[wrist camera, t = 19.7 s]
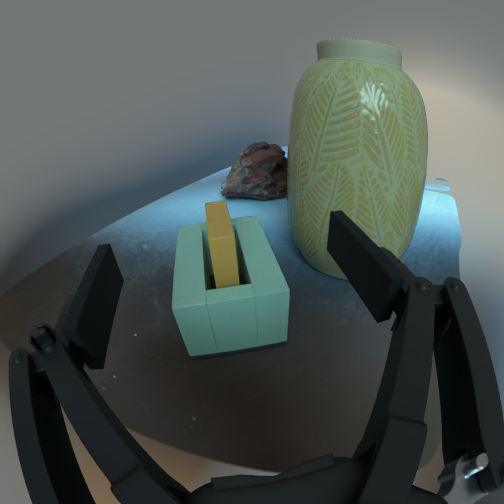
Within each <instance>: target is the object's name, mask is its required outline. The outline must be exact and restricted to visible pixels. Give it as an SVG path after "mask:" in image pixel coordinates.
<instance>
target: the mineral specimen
mask: <svg viewBox="0 0 504 504" xmlns="http://www.w3.org/2000/svg"><path fill="white" fill-rule="evenodd" d="M284 155H285V151H283V150H282V149H281V147H279V146H278V145H276V144H270V145H268V143H267V142H260V143H253V144H251V145H249V146H248V148H247V149H245V150H244V151H242V152H241V153H240V154H239V155H238V156H237V158H236V159H235V160H234V162H233V164H232V168H231V171H230V172H229V175H228V176H227V181H225V182H224V183H223V184H222V188H221V189H222V191H221V194H222V196H225V197H226V198H228V197H235V198H239V197H241V198H256V199H259V200H268V199H269V198H273V197H274V198H284V197H286V195H287V158H286V157H285V156H284Z"/></svg>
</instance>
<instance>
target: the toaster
mask: <svg viewBox="0 0 504 504" xmlns="http://www.w3.org/2000/svg"><path fill="white" fill-rule="evenodd" d="M230 220H231V224H232V228H233V232H234V236H235V245H236V255H237V264H238V274H239V283H240V285H238V286H232V287H225V288H219V289H216V283H215V277H214V272H213V266H212V260H211V254H210V248H209V242H208V232H207V223H202V224H201V223H200V224H194V225H187V226H181V227H179V228H178V237H177V246H176V256H175V267H174V280H173V294H172V311H173V313H174V316H175V319H176V322H177V324H178V327H179V330H180V332H181V335H182V338H183V340H184V343H185V345H186V348H187V351H188V353H189V355H190V358H191V360H195V359H203V358H211V357H218V356H225V355H232V354H238V353H244V352H250V351H256V350H261V349H267V348H272V347H277V346H282V345H286V344H287V332H288V316H289V297H290V289H289V287H288V285H287V282H286V280H285V278H284V275H283V273H282V271H281V269H280V266H279V264H278V262H277V260H276V257H275V255H274V253H273V251H272V249H271V246H270V244H269V242H268V240H267V237H266V235H265V233H264V231H263V229H262V226H261V224H260V222H259V220H258V218H257V216H250V217H242V218H235V219H230Z"/></svg>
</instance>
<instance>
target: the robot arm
mask: <svg viewBox="0 0 504 504" xmlns="http://www.w3.org/2000/svg"><path fill="white" fill-rule="evenodd" d="M326 250H327V251H328V253H329V254H330V255H331V257H332V258H333V259H334V261H335V262H336V264H337V265H338V266H339V268H340V269H341V270H342V272H343V273H344V275H345V276H346V278H347V279H348V280H349V282H350V283H351V285H352V286H353V288H354V289H355V290H356V292H357V293H358V295H359V296H360V298H361V299H362V301H363V302H364V304H365V305H366V307H367V308H368V310H369V311H370V313H371V314H372V316H373V317H374V319H375V320H376V322H377V323H379V322H382V321H385V320H388V319H390V317H391V314H392V312H393V311H394V312H395V313H396V315H397V317H396V319H395V321H394V324H393V326H392V328H391V330H390V331H393V333H392V338H391V343H390V348H389V352H388V357H387V361H386V365H385V369H384V373H383V377H382V380H381V384H380V388H379V391H378V394H377V398H376V401H375V404H374V407H373V410H372V413H371V416H370V419H369V422H368V425H367V428H366V431H365V433H364V436H363V438H362V440H361V442H360V443H359V445H358V447H357V449H356V450H355V453H354V455H353V457H352V458H348V457H333V454H332V453H331V454H328V455H325V456H322V457H319V458H315V459H312V460H308V461H305V462H302V463H301V464H299V465H297V466H295V467H293V468H291V469H289V470H287V471H285V472H282V473H280V474H278V475H275V476H254V475H236V476H226V477H216V478H211V482H210V483H207V484H205V485H203V486H201V487H199V488H198V489H196V490H194V491H193V492H192V493H190V492H189V491H188V490H187V489H186V488H185V487H183V486H182V485H181V484H180V483H178V482H177V481H175V480H174V479H173V478H171V477H170V476H169V475H168V474H167V473H166V472H165V471H164V470H163V469H162V468H161V467H160V466H159V465H158V464H157V463H156V462H155V461H154V460H153V459H152V458H151V457H150V456H149V455H148V454H147V452H146V451H145V450H144V449H143V448H142V447H141V446H140V445H139V444H138V442H137V441H136V440H135V439H134V438H133V437H132V435H131V434H130V433H129V432H128V431H127V429H126V428H125V427H124V426H123V424H122V423H121V422H120V421H119V419H118V418H117V417H116V415H115V414H114V413H113V411H112V410H111V409H110V407H109V406H108V404H107V403H106V402H105V400H104V399H103V397H102V396H101V395H100V393H99V392H98V390H97V389H96V387H95V386H94V384H93V383H92V381H91V379H90V378H89V376H88V375H87V373H86V372H85V371H84V369H83V367H84V362H85V363H86V365H87V366H88V367H89V368H90V369H104V363H105V358H106V352H107V347H108V342H109V338H110V333H111V329H112V324H113V320H114V316H115V312H116V308H117V304H118V300H119V296H120V292H121V289H122V285H123V282H124V280H123V277H122V275H121V272H120V270H119V267H118V265H117V262H116V259H115V257H114V254H113V251H112V248H111V246H110V243H109V244H104V245H99V246H98V248H97V250H96V252H95V254H94V256H93V258H92V260H91V262H90V264H89V266H88V268H87V270H86V272H85V274H84V277H83V279H82V281H81V283H80V285H79V288H78V290H77V292H76V294H74V295H71V296H70V297H69V298H68V299H67V301H66V302H65V304H64V307H63V309H62V310H63V311H61V314H60V317H59V319H58V321H57V324H56V326H55V329H54V331H53V329H52V328H51V326H50V325H49V324H48V323H41V324H39V325H37V326H36V327H35V328H34V329H33V330H32V331H31V333H30V336H29V342H30V343H31V344H32V346H33V347H34V348H35V349H36V351H35V352H32V353H28V351H27V350H26V349H25V348H23V347H20V348H17V349H16V350H14V351H13V352H12V354H11V356H10V358H9V389H10V390H9V391H10V404H11V414H12V421H13V429H14V436H15V441H16V446H17V451H18V456H19V460H20V464H21V468H22V472H23V476H24V479H25V483H26V486H27V489H28V492H29V495H30V498H31V501H32V504H96V503H95V501H94V499H93V497H92V495H91V493H90V491H89V489H88V487H87V484H86V482H85V479H84V477H83V475H82V472H81V470H80V467H79V465H78V462H77V459H76V457H75V454H74V451H73V448H72V445H71V442H70V439H69V435H68V432H67V429H66V425H65V422H64V418H63V414H62V410H61V406H62V408H63V409H64V411H65V413H66V415H67V417H68V419H69V421H70V423H71V424H72V426H73V428H74V430H75V431H76V433H77V435H78V436H79V438H80V440H81V441H82V443H83V444H84V446H85V448H86V449H87V450H88V452H89V454H90V455H91V457H92V458H93V459H94V461H95V462H96V464H97V465H98V467H99V468H100V469H101V471H102V472H103V473H104V475H105V476H106V477H107V479H108V480H109V481H110V483H111V488H110V489H111V491H112V493H113V494H114V496H115V497H116V499H117V500H118V501H119V502H120V503H121V504H474V503H475V502H477V501H478V500H479V499H481V498H482V497H483V496H485V495H487V494H490V493H493V492H495V491H498V490H500V489H503V488H504V421H503V413H502V407H501V401H500V395H499V390H498V385H497V381H496V376H495V372H494V368H493V364H492V360H491V357H490V353H489V350H488V346H487V343H486V340H485V337H484V334H483V331H482V328H481V325H480V322H479V319H478V317H477V314H476V311H475V309H474V306H473V304H472V301H471V299H470V296H469V294H468V291H467V289H466V287H465V285H464V284H463V283H462V282H461V281H460V280H459V279H457V278H453V277H448V278H446V280H445V282H444V284H443V285H433V284H432V283H431V282H430V281H429V280H427V279H425V278H423V277H415V276H414V275H413V274H412V273H411V272H410V271H409V270H408V268H407V267H406V266H405V265H404V264H403V263H402V262H401V261H400V260H399V259H398V258H396V256H395V255H394V254H393V253H392V252H391V251H390V250H388V249H386V248H385V247H378V246H377V245H376V244H375V243H374V242H373V241H372V240H371V239H370V238H369V237H368V236H367V235H366V234H365V233H364V232H363V231H362V230H361V229H360V228H359V227H358V226H357V225H356V224H355V223H354V222H353V221H352V220H351V219H350V218H349V217H348V216H347V215H346V214H345V213H344V212H343V211H342V210H339V211H330V220H329V231H328V240H327V249H326ZM433 351H434V357H435V363H436V370H437V377H438V385H439V394H440V405H441V421H442V449H443V459H444V465H445V467H444V469H443V471H442V473H441V474H440V475H439V477H438V480H437V481H438V484H439V485H440V489H439V491H438V493H437V494H434V493H432V492H429V491H426V490H424V489H422V488H419V487H416V486H414V485H412V484H413V481H414V478H415V475H416V472H417V469H418V465H419V462H420V459H421V455H422V451H423V448H424V444H425V439H426V435H427V424H425V423H424V421H423V419H424V413H425V408H426V402H427V396H428V390H429V383H430V375H431V366H432V356H433ZM60 404H61V406H60Z"/></svg>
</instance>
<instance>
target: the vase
mask: <svg viewBox="0 0 504 504" xmlns="http://www.w3.org/2000/svg"><path fill="white" fill-rule="evenodd" d="M317 54H318V61H317V62H316V63H314V64H313V65H311V66H310V67H309V68H308V69H307V70H306V71H305V73H304V74H303V75H302V77H301V78H300V80H299V82H298V84H297V87H296V89H295V93H294V97H293V103H292V110H291V116H290V125H289V139H288V158H287V207H288V223H289V228H290V232H291V235H292V237H293V240H294V242H295V244H296V246H297V248H298V250H299V251H300V253H301V255H302V256H303V258H304V259H305V261H306V262H307V263H308V264H309V265H311V266H312V267H313V268H315V269H316V270H318V271H320V272H322V273H324V274H326V275H329V276H332V277H335V278H339V279H344V280H348V279H347V278H346V276H345V275H344V273H343V272H342V270H341V269H340V268H339V266H338V265H337V264H336V262H335V261H334V259H333V258H332V257H331V255H330V254H329V253H328V251H327V250H326V249H327V240H328V231H329V220H330V211H339V210H342V211H343V212H344V213H345V214H346V215H347V216H348V217H349V218H350V219H351V220H352V221H353V222H354V223H355V224H356V225H357V226H358V227H359V228H360V229H361V230H362V231H363V232H364V233H365V234H366V235H367V236H368V237H369V238H370V239H371V240H372V241H373V242H374V243H375V244H376V245H377V246H378V247H385V248H386V249H388V250H390V251H391V252H392V253H393V254H394V255H395V256H396V258H398V259H399V260H400V259H401V257H402V256H403V255H404V254H405V252H406V251H407V249H408V247H409V245H410V243H411V240H412V238H413V235H414V232H415V228H416V225H417V221H418V217H419V213H420V209H421V204H422V199H423V193H424V187H425V180H426V170H427V157H428V133H427V119H426V112H425V106H424V103H423V99H422V97H421V95H420V92H419V90H418V88H417V87H416V85H415V84H414V82H413V81H412V80H411V78H410V77H409V76H408V75H406V73H405V72H403V71H402V69H401V62H402V61H401V59H402V56H401V52H400V51H399V50H398V49H396V48H393V47H391V46H388V45H385V44H381V43H377V42H372V41H366V40H357V39H331V40H325V41H321V42H319V43H317Z"/></svg>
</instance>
